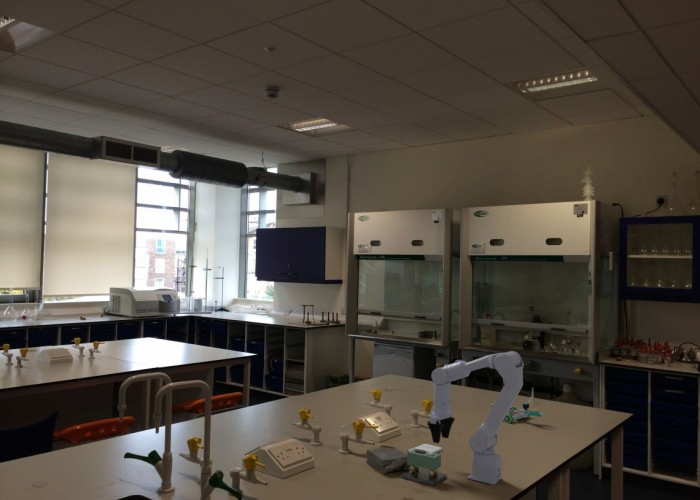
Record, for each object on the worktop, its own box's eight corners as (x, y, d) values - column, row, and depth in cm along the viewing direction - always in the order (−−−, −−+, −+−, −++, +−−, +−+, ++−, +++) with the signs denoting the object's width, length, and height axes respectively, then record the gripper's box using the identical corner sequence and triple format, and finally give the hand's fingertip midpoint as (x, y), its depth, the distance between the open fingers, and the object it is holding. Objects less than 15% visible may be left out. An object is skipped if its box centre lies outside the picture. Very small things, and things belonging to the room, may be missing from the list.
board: (440, 466, 190) (441, 452, 191) (434, 470, 186) (434, 456, 186) (413, 460, 196) (414, 446, 196) (407, 464, 192) (407, 450, 192)
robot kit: (533, 430, 256) (534, 409, 257) (486, 418, 275) (486, 398, 275) (553, 423, 269) (554, 403, 269) (507, 412, 287) (507, 394, 288)
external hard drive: (407, 454, 217) (424, 447, 226) (425, 459, 212) (442, 451, 221) (407, 449, 217) (424, 442, 227) (425, 454, 212) (442, 447, 221)
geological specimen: (384, 461, 192) (363, 445, 205) (384, 479, 192) (363, 462, 205) (411, 456, 197) (389, 441, 210) (411, 473, 197) (388, 458, 210)
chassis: (446, 477, 192) (446, 465, 192) (433, 485, 184) (433, 473, 184) (414, 469, 198) (414, 457, 199) (400, 477, 190) (401, 465, 190)
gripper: (440, 396, 211) (439, 433, 210) (422, 403, 199) (421, 442, 198) (457, 399, 207) (456, 437, 207) (441, 406, 195) (440, 446, 194)
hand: (440, 440), depth 202 cm, fingers open, 7 cm apart
